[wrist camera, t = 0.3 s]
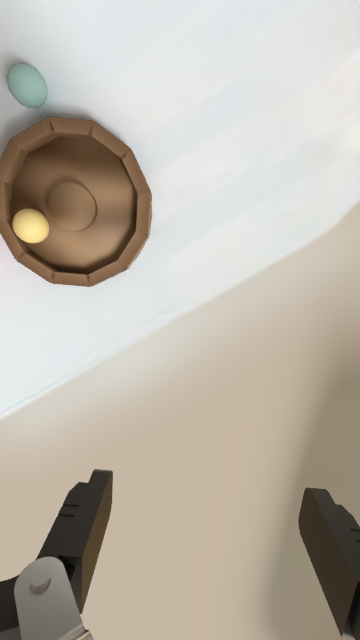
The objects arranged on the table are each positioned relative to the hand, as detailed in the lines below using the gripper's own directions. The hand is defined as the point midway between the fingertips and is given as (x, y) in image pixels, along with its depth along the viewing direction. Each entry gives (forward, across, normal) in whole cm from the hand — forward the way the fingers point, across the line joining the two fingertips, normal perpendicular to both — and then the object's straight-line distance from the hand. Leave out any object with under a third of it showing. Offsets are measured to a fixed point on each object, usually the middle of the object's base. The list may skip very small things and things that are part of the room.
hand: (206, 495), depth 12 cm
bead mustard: (+25, +20, -11) cm, 34 cm away
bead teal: (+27, +20, -25) cm, 42 cm away
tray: (+28, +15, -13) cm, 35 cm away
